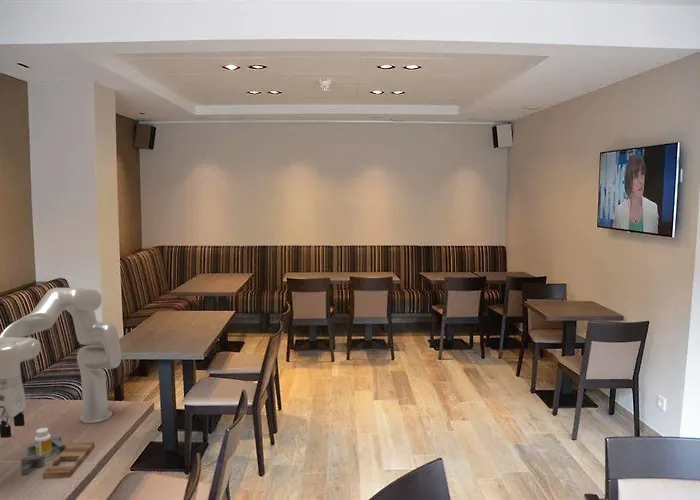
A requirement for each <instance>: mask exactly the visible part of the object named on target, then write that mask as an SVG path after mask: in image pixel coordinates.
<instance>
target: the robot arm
mask: <svg viewBox="0 0 700 500" xmlns="http://www.w3.org/2000/svg"><path fill="white" fill-rule="evenodd" d="M102 302H103V301H102V294H101V293H100V292H99V291H98V290H97V289H91V288H90V289H88V288H80V287H54V288H50V289H48V290H47V292H46V293H45V294H44V295H43V297H42V298H41V300H39V302H38V303H37V305H36V306H35V307H34V308H33V310H32V311H31V313H29V314H27V315H25V316H22V317H20V318H19V319H17V320H16V321H14V322H12V323H10V324H8V326H6V328H5V329H3V331H2V332H1V333H0V438H1V439H3V438H5V439H6V438H7V439H8V438H11V437H12V430H11V429H12V428H11V425H10V421H11V419H13V425H14V427H24V426H26V422H25V409H26V406H27V401H26V394H25V387H24V384H23V382H22V371H21V363H22V362H25V361H30V360H32V359H34V358H36V357H37V356H39V354H40V352H41V348H42V347H41V346H42V345H41V342H40V341H39V340H38V339H36V338H34V337H27V336H29V335H33V334H36V333H40V332H44V331H46V330H48V329H50V328H52V327H53V326H54V324H55V323H56V322H57V320H58V318H59V317H60V315H61V314H62V313H63V312H64V311H67V312H68V313H69V314H70V315H71V317H72V321H73V325H74V330H75V336H76V339H77V342H78V343H79V344H80V345H84V346H82V347H81V348H79V350H78V351H77V354H76V361H77V365H78V368H79V373H80V379H81V382H80V383H81V391H82V392H81V394H82V395H81V396H82V405H83V406H82V407H83V414H81V415H80V417H79V420H80V422H82V423H83V424H97V423H101V422H104V421H107V420H108V419H110V418H111V417H112V416H113V411H112V410H110V409H109V406H108V405H109V404H110V401H109V400H108V391H107V377H106V373H105V371H104V370H105V369H116V368H118V367H119V366H120V364H121V362H122V349H121V344H120V343H121V342H120V339H119V338H120V337H119V333H118V329H117V327H116V326H115V324H114V323H112V322H109V321H108V322H106V321H105V322H100V321H98V319H97V316H96V311H97V310H98V309H99V308H100V307H101V304H102ZM5 420H6V421H5Z"/></svg>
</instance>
